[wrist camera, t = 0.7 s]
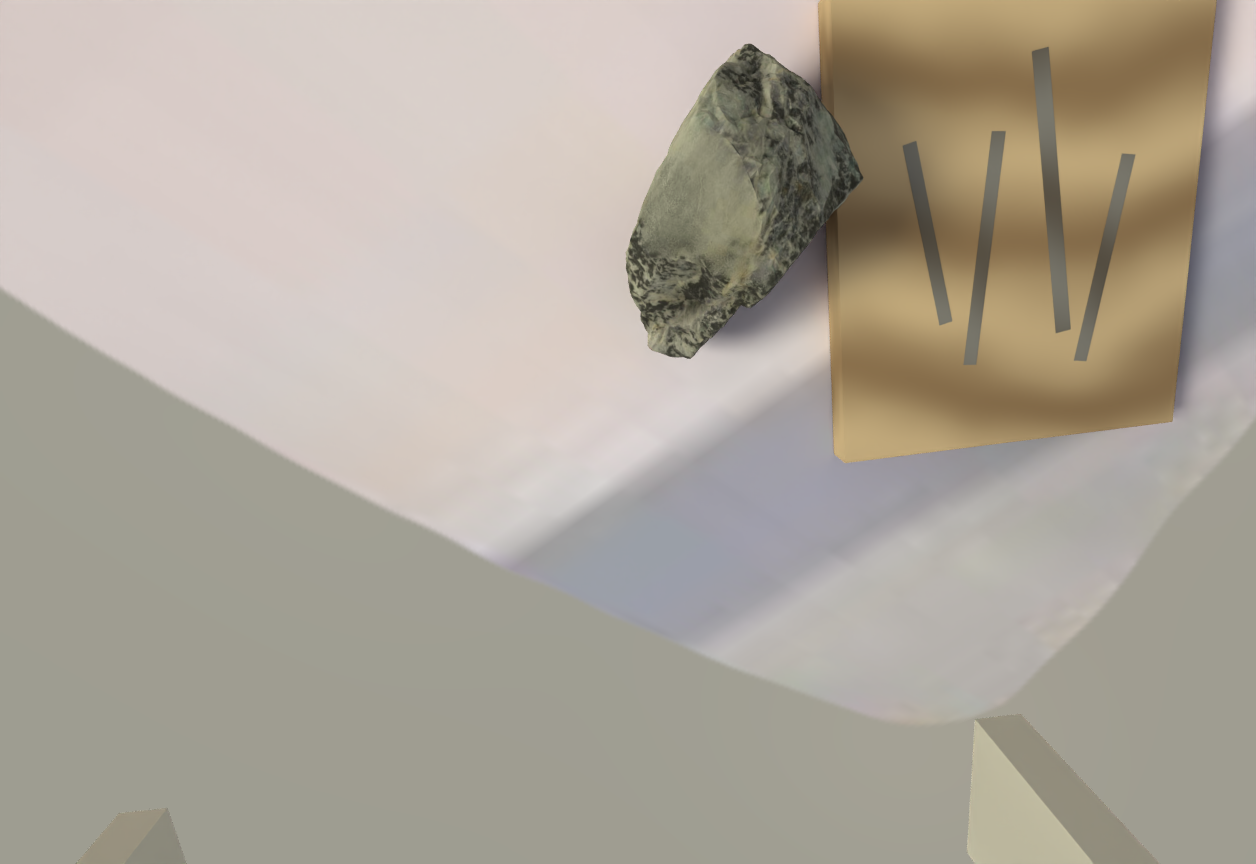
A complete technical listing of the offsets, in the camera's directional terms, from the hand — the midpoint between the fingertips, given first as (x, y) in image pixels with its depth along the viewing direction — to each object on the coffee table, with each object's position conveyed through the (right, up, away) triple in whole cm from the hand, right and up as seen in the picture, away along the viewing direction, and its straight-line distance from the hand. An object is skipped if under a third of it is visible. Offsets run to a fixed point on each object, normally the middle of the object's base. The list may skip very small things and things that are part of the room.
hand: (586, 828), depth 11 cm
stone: (+5, +16, +19) cm, 26 cm away
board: (+18, +16, +19) cm, 31 cm away
